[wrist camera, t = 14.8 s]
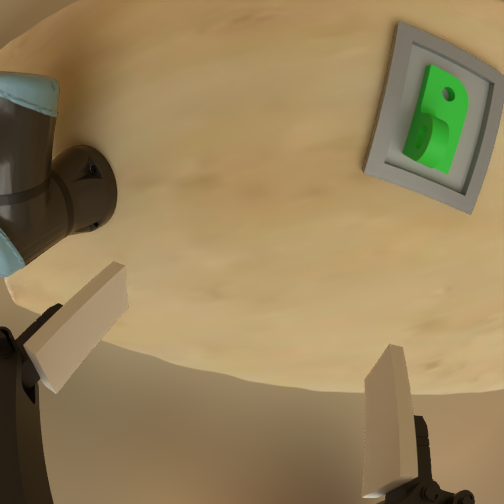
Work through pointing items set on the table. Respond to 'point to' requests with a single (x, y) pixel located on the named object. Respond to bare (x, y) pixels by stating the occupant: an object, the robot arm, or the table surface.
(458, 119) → the mechanical part
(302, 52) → the table surface
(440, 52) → the locating tray
